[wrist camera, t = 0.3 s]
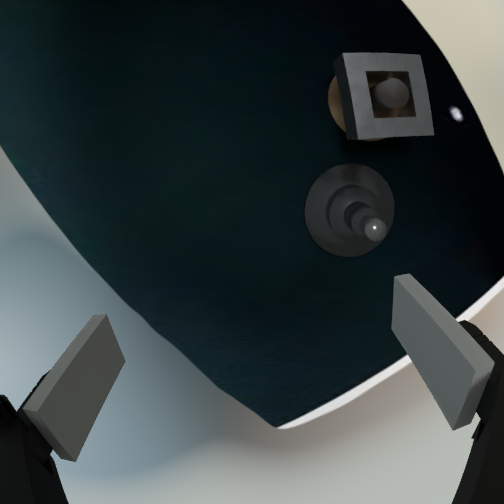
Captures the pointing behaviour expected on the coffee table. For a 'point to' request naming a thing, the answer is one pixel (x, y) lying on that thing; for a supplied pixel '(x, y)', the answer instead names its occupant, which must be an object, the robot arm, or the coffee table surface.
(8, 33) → the coffee table surface
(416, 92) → the collar
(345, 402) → the coffee table surface
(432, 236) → the coffee table surface
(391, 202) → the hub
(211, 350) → the coffee table surface
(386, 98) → the stand
